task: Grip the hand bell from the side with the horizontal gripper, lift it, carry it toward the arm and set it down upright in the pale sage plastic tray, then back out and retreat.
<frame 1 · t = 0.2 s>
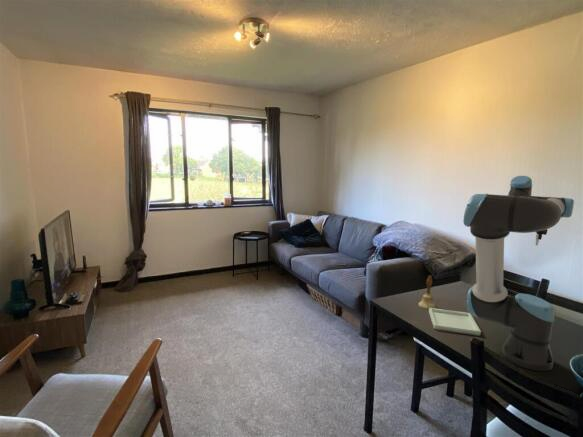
hand: (519, 240, 156), 35 cm above the table, tool tilted 35°, fingers open, 13 cm apart
tray: (452, 322, 145), on the table
hand bell: (426, 306, 163), on the table
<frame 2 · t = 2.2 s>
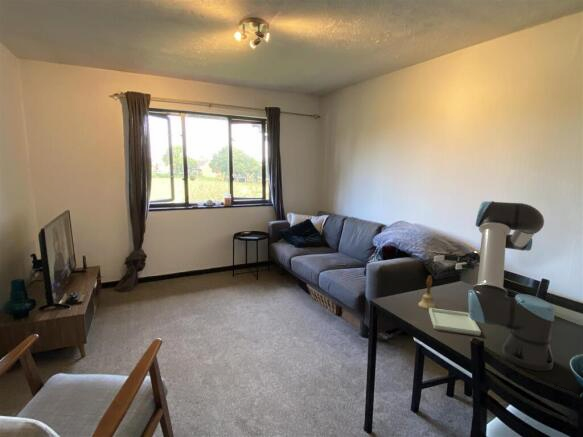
hand: (444, 262, 163), 22 cm above the table, tool horizontal, fingers open, 13 cm apart
nothing on the table moved.
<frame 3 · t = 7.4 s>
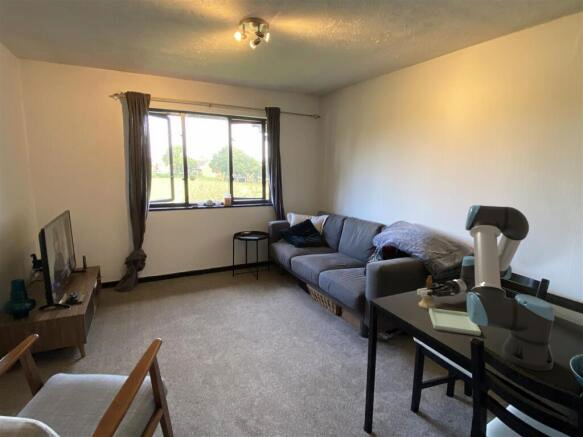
hand: (419, 293, 159), 8 cm above the table, tool horizontal, fingers closed on hand bell, 2 cm apart
hand bell: (427, 306, 163), on the table, touching gripper
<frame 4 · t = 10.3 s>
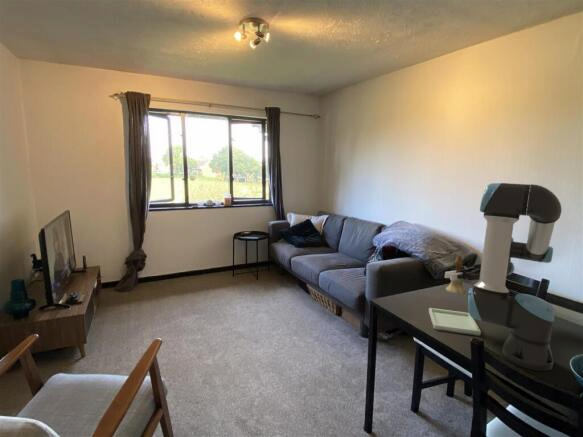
hand: (448, 276, 139), 23 cm above the table, tool horizontal, fingers closed on hand bell, 2 cm apart
hand bell: (455, 291, 142), point 15 cm above the table, touching gripper
when the fingers open (9 cm above the table, at t = 13.4 s): hand bell drops 1 cm, resting on tray.
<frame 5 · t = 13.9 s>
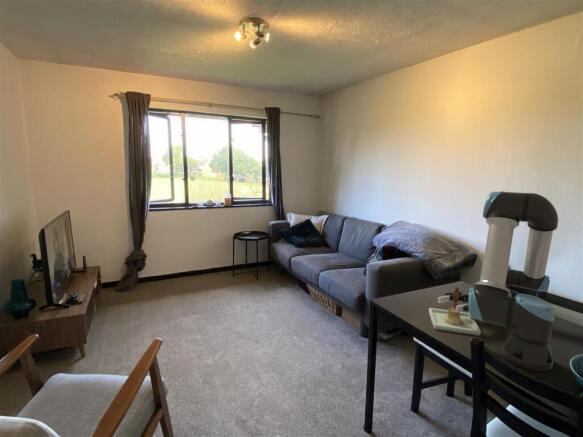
hand: (447, 304, 142), 9 cm above the table, tool horizontal, fingers open, 9 cm apart
hand bell: (452, 321, 145), point 1 cm above the table, touching tray
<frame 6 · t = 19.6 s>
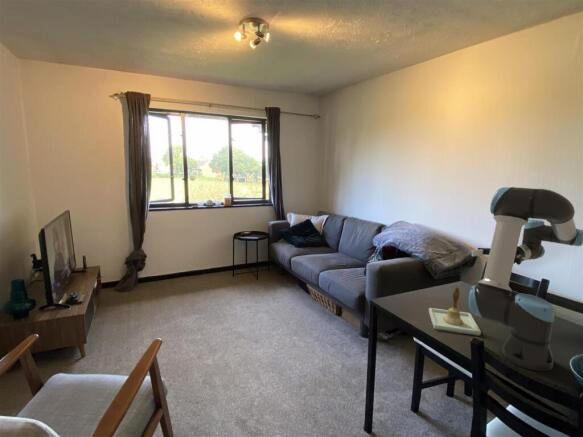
hand: (485, 257, 144), 30 cm above the table, tool horizontal, fingers open, 13 cm apart
nothing on the table moved.
at the end: hand bell inside the target area on the tray (0.1 cm from its centre), point 0.6 cm above the tray's base; hand bell tilted 0°; the gripper is holding nothing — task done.
